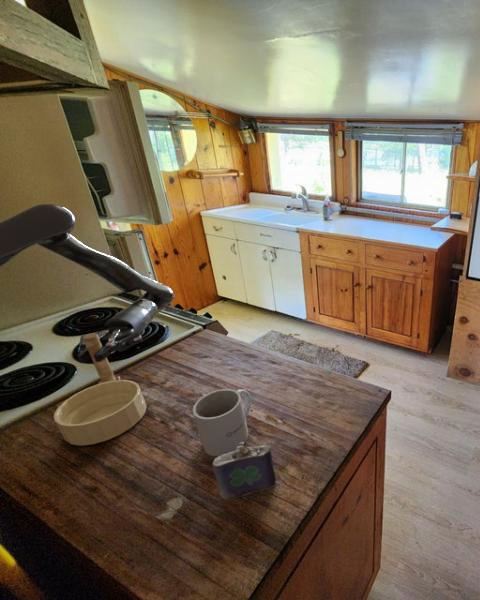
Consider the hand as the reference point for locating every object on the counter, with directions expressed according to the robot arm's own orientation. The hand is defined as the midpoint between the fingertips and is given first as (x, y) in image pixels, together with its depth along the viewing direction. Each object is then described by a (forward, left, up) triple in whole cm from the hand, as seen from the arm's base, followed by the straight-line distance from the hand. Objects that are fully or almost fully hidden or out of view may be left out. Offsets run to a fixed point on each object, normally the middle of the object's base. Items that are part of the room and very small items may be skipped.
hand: (89, 359), depth 76 cm
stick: (0, +3, -10) cm, 10 cm away
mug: (+34, -18, -11) cm, 40 cm away
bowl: (+6, -10, -11) cm, 16 cm away
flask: (+40, -32, -11) cm, 52 cm away
